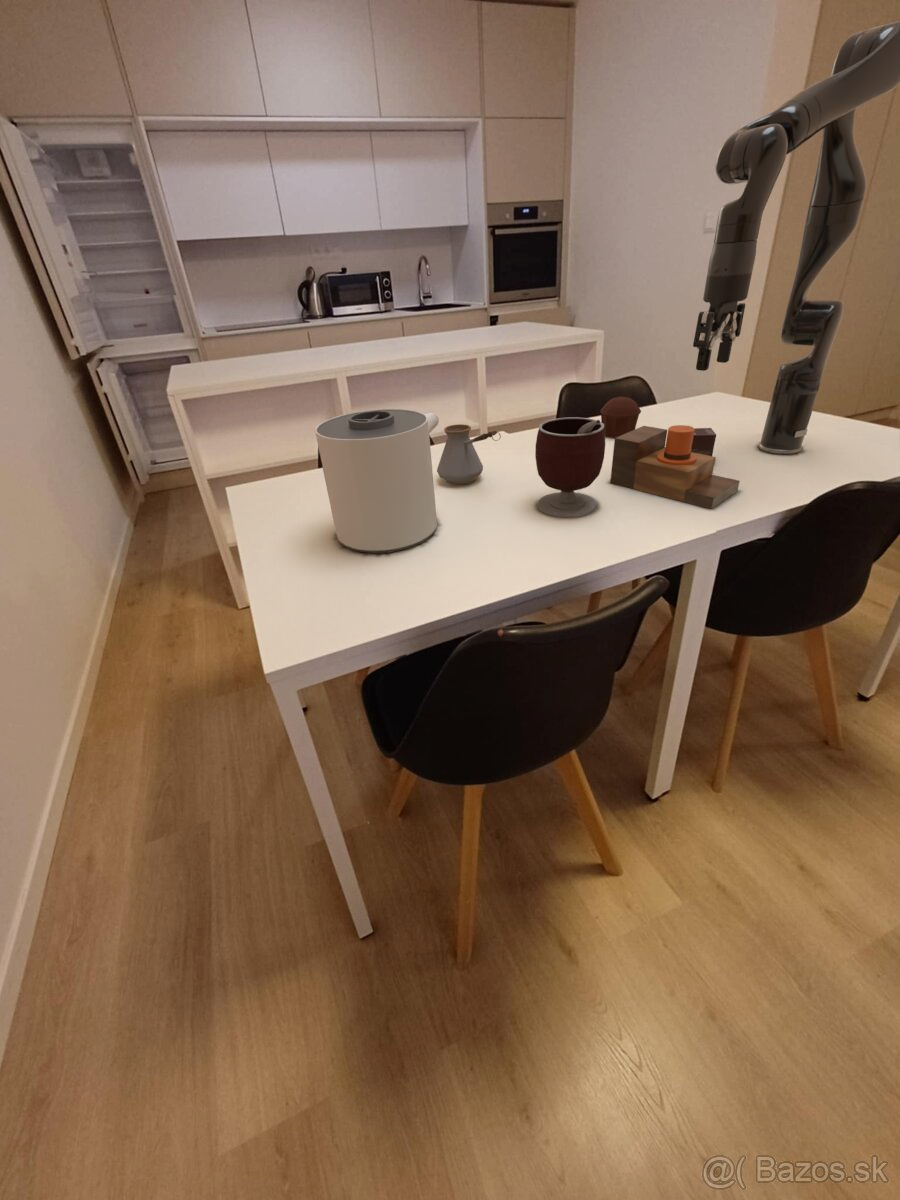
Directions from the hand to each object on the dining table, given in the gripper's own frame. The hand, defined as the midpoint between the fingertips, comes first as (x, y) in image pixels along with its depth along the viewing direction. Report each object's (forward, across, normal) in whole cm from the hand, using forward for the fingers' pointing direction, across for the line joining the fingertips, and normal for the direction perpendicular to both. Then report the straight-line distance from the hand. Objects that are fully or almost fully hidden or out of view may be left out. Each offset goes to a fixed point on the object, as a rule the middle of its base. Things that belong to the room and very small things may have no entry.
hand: (712, 366), depth 106 cm
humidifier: (+24, -59, +34) cm, 72 cm away
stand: (+25, -4, +2) cm, 25 cm away
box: (+25, +15, +6) cm, 30 cm away
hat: (+18, -4, +2) cm, 19 cm away
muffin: (+26, +23, +34) cm, 49 cm away
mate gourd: (+25, -28, +13) cm, 39 cm away
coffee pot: (+25, -32, +39) cm, 56 cm away
